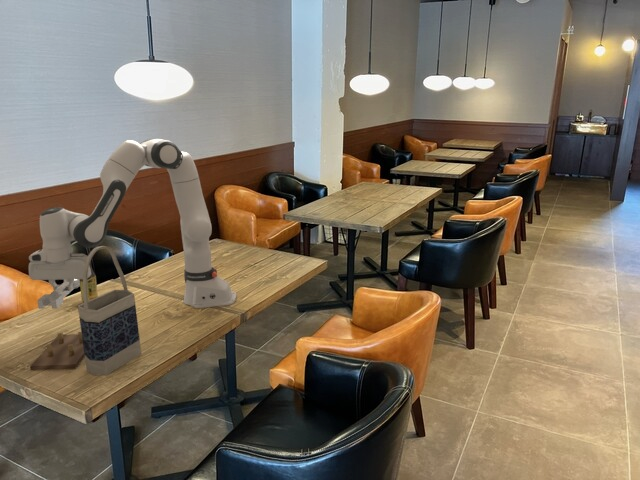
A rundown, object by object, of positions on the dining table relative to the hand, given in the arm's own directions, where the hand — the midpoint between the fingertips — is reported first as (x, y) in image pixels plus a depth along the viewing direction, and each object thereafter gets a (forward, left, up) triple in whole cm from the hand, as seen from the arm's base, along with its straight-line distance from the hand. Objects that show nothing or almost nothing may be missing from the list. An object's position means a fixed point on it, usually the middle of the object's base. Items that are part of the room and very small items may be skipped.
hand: (62, 290), depth 181 cm
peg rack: (-5, +14, -17) cm, 23 cm away
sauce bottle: (+2, -30, -18) cm, 35 cm away
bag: (-23, +22, -18) cm, 36 cm away
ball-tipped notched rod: (0, 0, -2) cm, 2 cm away
